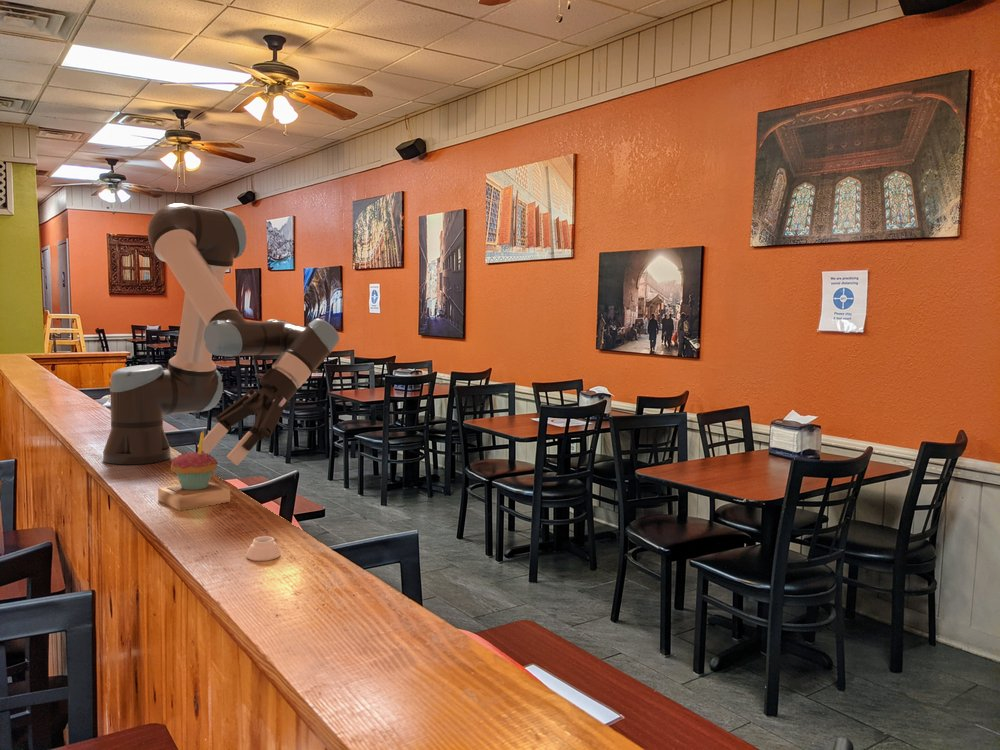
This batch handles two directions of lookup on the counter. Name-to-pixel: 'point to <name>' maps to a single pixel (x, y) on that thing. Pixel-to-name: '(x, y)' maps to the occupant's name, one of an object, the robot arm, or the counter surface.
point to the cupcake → (194, 468)
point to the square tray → (193, 496)
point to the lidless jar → (263, 549)
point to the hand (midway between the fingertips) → (216, 455)
